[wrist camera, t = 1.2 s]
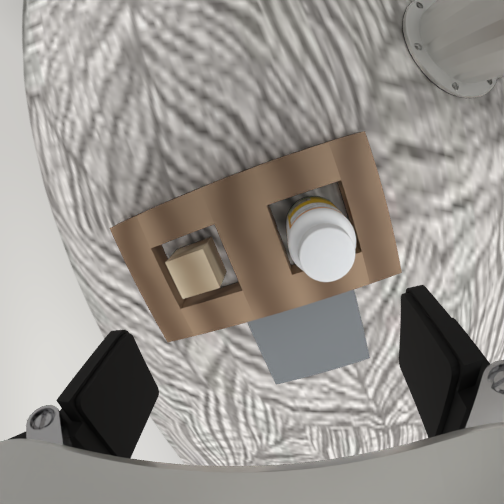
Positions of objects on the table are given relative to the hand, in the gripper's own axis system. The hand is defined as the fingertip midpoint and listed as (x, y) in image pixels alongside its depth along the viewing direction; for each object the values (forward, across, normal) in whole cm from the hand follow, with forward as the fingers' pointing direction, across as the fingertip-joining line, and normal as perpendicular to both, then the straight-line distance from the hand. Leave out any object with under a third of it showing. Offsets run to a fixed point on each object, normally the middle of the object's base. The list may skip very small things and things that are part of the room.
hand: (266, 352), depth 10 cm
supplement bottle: (+22, -3, +2) cm, 22 cm away
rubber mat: (+21, -1, +15) cm, 26 cm away
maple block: (+22, +9, +4) cm, 23 cm away
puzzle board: (+21, +3, +3) cm, 22 cm away
